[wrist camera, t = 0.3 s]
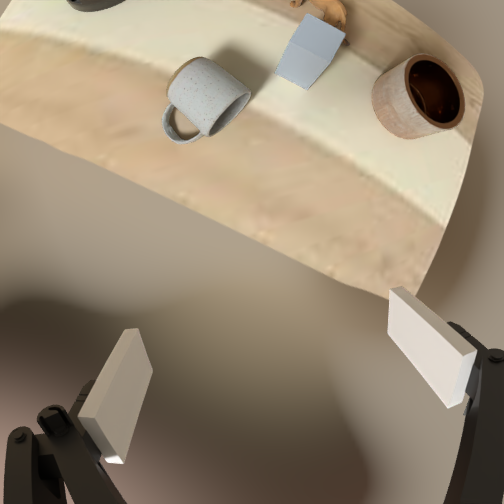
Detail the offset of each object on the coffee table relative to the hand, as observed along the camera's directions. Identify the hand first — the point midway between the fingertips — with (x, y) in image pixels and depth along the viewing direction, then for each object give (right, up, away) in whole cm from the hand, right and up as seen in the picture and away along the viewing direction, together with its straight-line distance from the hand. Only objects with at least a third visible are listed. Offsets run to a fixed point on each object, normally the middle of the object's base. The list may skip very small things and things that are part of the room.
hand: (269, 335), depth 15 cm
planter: (+21, +26, +25) cm, 42 cm away
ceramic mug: (-7, +22, +23) cm, 33 cm away
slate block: (+5, +29, +23) cm, 37 cm away
